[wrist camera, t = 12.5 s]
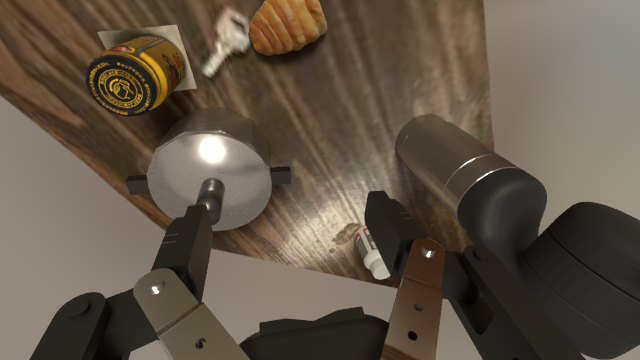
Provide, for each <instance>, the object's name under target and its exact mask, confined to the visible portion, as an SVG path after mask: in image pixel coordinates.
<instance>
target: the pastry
mask: <svg viewBox="0 0 640 360" xmlns="http://www.w3.org/2000/svg"><path fill="white" fill-rule="evenodd" d="M326 31H327V23H326V20H325V18H324V15H323V12H322V9H321V6H320V3H319V1H318V0H265V1H264V3H263V5H262V6H261V7H260V8H259V10H258V11H257V12H256V14H255V15H254V17H253V18H252V20H251V21H250V27H249V33H248V35H249V38H250V41H251V43H252V44H253V46H254V48H255V50H256V51H257V52H259V53H262V54H264V55H267V56H270V55H274V54H279V55H280V54H284V53H287V52H290V51H292V50H300V49H302V47H303V46H305V45H307V44H308V43H310V42H315V41H316V40H317V39H318V37H319V36H321V35H323V34H325V33H326Z"/></svg>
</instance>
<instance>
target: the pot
mask: <svg viewBox="0 0 640 360" xmlns="http://www.w3.org/2000/svg"><path fill="white" fill-rule="evenodd" d="M202 131H207V132H219V133H224V134H228V135H231V136H233V137H236V138H238V139H240V140H242V141H244V142H246V143H247V144H249V145H250V146H252V147H253V148H254V149H255V150H256V151H257V152H258V153H259V154H260V155H261V156H262V158H263V159H264V161H265V162H266V164H267V166H268V168H269V171H270V174H271V182H272V185H278V184H291V170H290V167H274V168H270V163H269V151H268V141H267V140H266V138H265V137H264V136H263V134H262V133H261V131H260V130H259V129H258V127H257V126H256V125H255V123H254V122H253V121H252V120H250V119H248V118H246V117H244V116H242V115H240V114H238V113H236V112H234V111H232V110H230V109H228V108H201V109H195V110H194V111H192V112H191V113H189V114H187V115H186V116H184V117H182V118H181V119H179V120H178V121H176V122H174V123H173V125H172V126H171V128H170V129H169V131H168V132H167V134H166V135H165V136H164V138H163V139H162V141H161V142H160V144H159V145H158V147H157V148H156V151H155V153H154V156H153V159H154V157H155V156H156V154H157V153H158V152H159V150H160V149H161V148H162V147H163V146H164V145H166V144H167V143H168V142H170V141H171V140H173V139H175V138H177V137H179V136H182V135H185V134H189V133H193V132H202ZM153 159H152V161H153ZM152 161H151V163H152ZM150 165H151V164H150ZM149 168H150V167H149ZM148 171H149V169H148ZM125 182H126V185H127V187H128V190H129V192H130V195H137V194H151V193H150V190H149V187H148V172H147V175H139V176H129V177H128V178H127V179H126V181H125Z"/></svg>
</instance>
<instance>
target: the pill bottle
mask: <svg viewBox="0 0 640 360" xmlns="http://www.w3.org/2000/svg"><path fill="white" fill-rule="evenodd" d="M354 240H355V243H356V246H357V248H358V250H359V253H360V255H361V258H362V260H363V262H364V265H365V266H366V268H368V269H369V270H371V272H372V274H373V276H374V277H375V278H376V279H385V278H387V277H389V276H390V274H389V272H388V270H387V268H386V266H385V264H384V262H383V260H382V258H381V255H380V253H379V251H378V249H377V247H376V245H375V243H374V241H373V239H372V237H371V235H370V233H369V231H368V229H367V227H366V226H363V227H361V228H360V229H358V230H357V231H356V233H355V235H354Z"/></svg>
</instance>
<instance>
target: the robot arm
mask: <svg viewBox="0 0 640 360" xmlns="http://www.w3.org/2000/svg"><path fill="white" fill-rule="evenodd" d="M396 150H397V154H398V156H399V157H400V159H401V160H402V161H403V162H404V163H405V164H406V165H407V166H408V167H409V168H410V170H411V171H412V172H413V173H414V174H415V175H416V176H417V177H418V178H419V180H420V181H421V182H422V183H423V184H424V185H425V186H426V187H427V188H428V189H429V191H430V192H431V193H432V194H433V195H434V196H435V197H436V198H437V199H438V200H439V201H440V203H441V204H442V205H443V206H444V207H445V208H446V209H447V210H448V211H449V212H450V213H451V214H452V216H453V217H454V218H455V219H456V220H457V221H458V222H459V223H460V224H461V226H462V227H463V228H464V229H465V230H466V232H467V235H468V237H469V239H470V240H471V241H472V243H473V244H474V245H469V246H467V247H466V248H465V249H464V251H463V253H461V252H454V251H447V250H444V249H443V247H442V246H441V245H440V244H439V243H437V242H436V241H434V240H431V239H428V238H426V237H425V236H424V235H423V233H422V232H421V230H420V229H419V228H418V226H417V225H416V223H415V222H414V221H413V219H411V216H410V215H409V214H408V213H407V211H406V209H405V208H404V207H403V205H402V204H400V203H399V202H397V201H396V200H395V199H390V198H389V197H388V195H387V194H386V192H385V191H371V192H369V193H368V197H367V203H366V209H365V224H366V227H367V229H368V231H369V233H370V235H371V237H372V239H373V241H374V243H375V245H376V247H377V249H378V251H379V253H380V255H381V258H382V260H383V262H384V264H385V266H386V268H387V270H388V272H389V274H390V276H396V275H399V276H400V278H401V281H400V285H399V288H398V292H397V295H396V298H395V302H394V305H393V309H392V312H391V316H390V319H389V322H386V321H384V320H382V319H380V318H378V317H375V316H371V315H366V314H364V312H363V309H362V307H355V308H349V309H342V310H337V311H335V312H333V313H331V314H328V315H326V316H324V317H322V318H319V319H317V320H315V321H306V320H296V319H280V320H274V321H268V322H261V323H260V331H259V332H257V333H255V334H253V335H251V336H250V337H248V338H247V339H245V340H244V341H243V342H241V343H240V344H239V345H238V344H237V343H236V341H235V340H234V339H233V338H232V337H231V335H230V334H229V333H228V332H227V331H226V329H225V328H224V327H223V326H222V324H221V323H220V322H219V321H218V320H217V318H216V317H215V316H214V315H213V313H212V312H211V311H210V310H209V308H208V307H207V306H206V305H205V304H204V303H203V302H201V301H202V295H203V289H204V285H205V279H206V274H207V268H208V263H209V257H210V251H211V246H212V240H213V232H212V226H211V222H210V218H209V213H208V209H207V206H206V204H203V205H190V206H188V207H187V210H186V213H185V216H184V217H178V218H176V219H175V220H174V221H173V222H172V223H171V224H170V225H169V226H168V228H167V231H166V233H165V237H164V239H163V241H162V244H161V246H160V249H159V251H158V254H157V256H156V259H155V262H154V264H153V267H152V269H151V271H150V272H149V273H147V274H145V275H144V276H143V277H141V278H140V279H139V280H138V281H137V283H136V284H135V286H134V288H132V289H130V290H128V291H125V292H123V293H120V294H117V295H114V296H112V297H109V298H106V299H105V297H104V296H103V295H102V294H100V293H97V292H91V293H85V294H83V295H80V296H77V297H75V298H73V299H72V300H70V301H69V302H67V303H66V304H64V305H63V306H62V307H61V308H60V309H59V310H58V312H57V313H56V314H55V316H54V318H53V319H52V321H51V323H50V325H49V326H48V328H47V330H46V332H45V333H44V335H43V337H42V339H41V340H40V342H39V344H38V346H37V347H36V349H35V351H34V353H33V354H32V356H31V358H30V359H29V360H128V359H129V356H130V352H131V351H133V350H136V349H138V348H140V347H142V346H144V345H146V344H149V343H151V342H153V341H155V340H158V341H159V343H160V345H161V346H162V348H163V350H164V351H165V353H166V355H167V356H168V358H169V360H435V357H436V348H437V341H438V333H439V325H440V317H441V309H442V300H443V298H446V299H448V300H449V302H450V303H451V305H452V307H453V308H454V310H455V312H456V314H457V315H458V317H459V319H460V321H461V322H462V324H463V326H464V328H465V329H466V331H467V333H468V335H469V336H470V338H471V340H472V341H473V343H474V345H475V347H476V348H477V350H478V352H479V354H480V355H481V357H482V359H483V360H586V359H585V358H584V357H583V356H582V355H581V353H582V354H584V355H586V356H589V357H592V358H596V359H601V360H607V359H613V358H616V357H618V356H620V355H622V354H624V353H626V352H628V351H630V350H631V349H633V348H635V347H637V346H638V345H640V220H638V219H636V218H634V217H632V216H630V215H628V214H626V213H623V212H621V211H619V210H617V209H614V208H611V207H609V206H606V205H602V204H599V203H594V202H580V203H577V204H574V205H572V206H571V207H570V208H568V209H567V210H566V211H565V212H563V213H562V214H561V215H560V216H559V217H558V218H557V219H556V220H555V221H554V222H553V223H552V224H551V225H550V226H549V227H548V228H547V229H546V230H545V231H544V232H543V233H542V234H541V235H540V236H539V237H538V231H539V226H540V222H541V219H542V216H543V213H544V210H545V207H546V202H547V193H546V190H545V188H544V186H543V185H542V183H541V182H540V181H539V180H537V179H536V178H535V177H533V176H531V175H530V174H529V173H527V172H525V171H524V170H522V169H520V168H519V167H517V166H516V165H514V164H512V163H511V162H509V161H508V160H506V159H504V158H503V157H501V156H500V155H498V154H497V153H495V152H493V151H492V150H490V149H489V147H488V146H487V145H485V144H484V143H482V142H481V141H479V140H477V139H476V138H474V137H473V136H471V135H469V134H468V133H466V132H465V131H463V130H461V129H460V128H458V127H457V126H455V125H453V124H452V123H450V122H447V121H445V120H443V119H442V118H440V117H438V116H436V115H432V114H426V115H422V116H419V117H417V118H415V119H413V120H411V121H410V122H409V123H408V124H407V125H406V126H405V127H404V128H403V129H402V131H401V132H400V134H399V136H398V139H397V143H396ZM483 296H484V297H483ZM485 299H486V300H487V301H486V300H485ZM200 302H201V303H200ZM487 302H488V303H489V304H488V303H487ZM490 306H491V307H490Z"/></svg>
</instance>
